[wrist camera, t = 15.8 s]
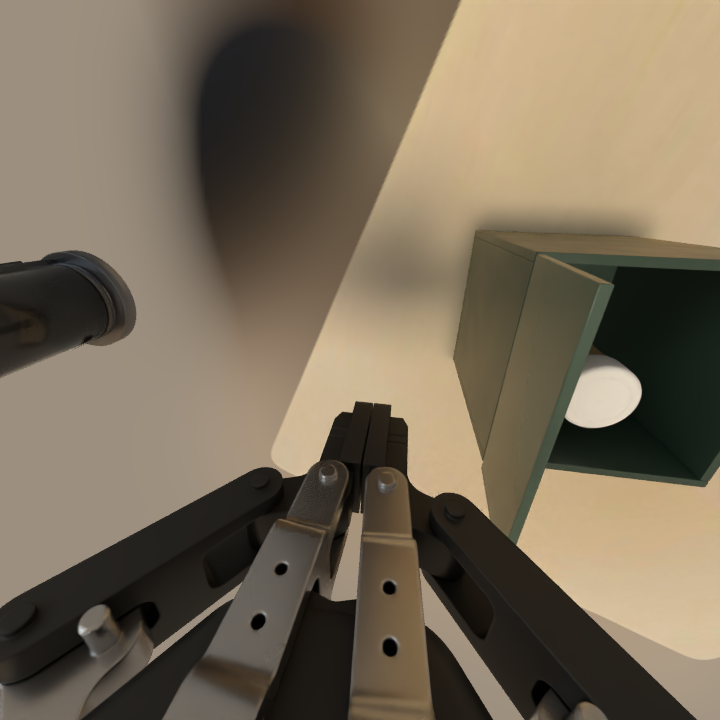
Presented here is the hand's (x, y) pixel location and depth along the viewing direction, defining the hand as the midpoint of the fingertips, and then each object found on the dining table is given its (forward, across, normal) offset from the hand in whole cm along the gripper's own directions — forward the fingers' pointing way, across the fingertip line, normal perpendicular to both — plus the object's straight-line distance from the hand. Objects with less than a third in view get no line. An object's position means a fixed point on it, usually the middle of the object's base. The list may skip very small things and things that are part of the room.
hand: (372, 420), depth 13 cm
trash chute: (+21, -13, 0) cm, 25 cm away
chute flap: (+2, -7, 0) cm, 7 cm away
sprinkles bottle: (+21, -13, +2) cm, 25 cm away
